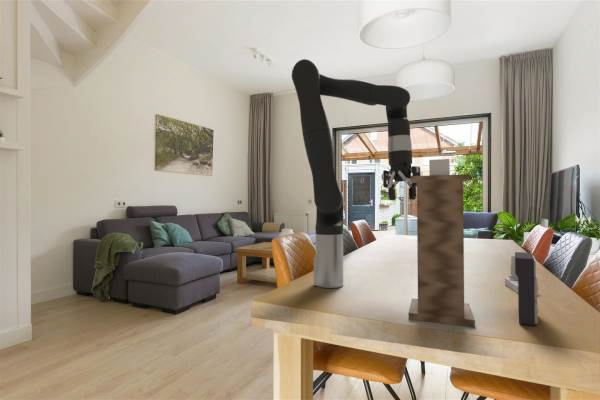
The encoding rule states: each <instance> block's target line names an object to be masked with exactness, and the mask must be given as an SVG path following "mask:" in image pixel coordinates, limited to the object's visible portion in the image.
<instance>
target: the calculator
mask: <svg viewBox="0 0 600 400" xmlns="http://www.w3.org/2000/svg"><path fill="white" fill-rule="evenodd" d="M514 256H515V274H516V275H517V277H518V293H517V297H518V298H517V302H518V303H517V305H518V307H517V309H518V311H517V313H518V324H519V325H525V326H530V327H531V326H532V327H535V326H536V324H539V323H538V322H539V318H538V314H539V310H538V309H539V308H538V294H539V282H538V279H537V260H536V258H535V256H534V255H533V253H532V252H522V251H521V252H520V251H515V252H514Z"/></svg>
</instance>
